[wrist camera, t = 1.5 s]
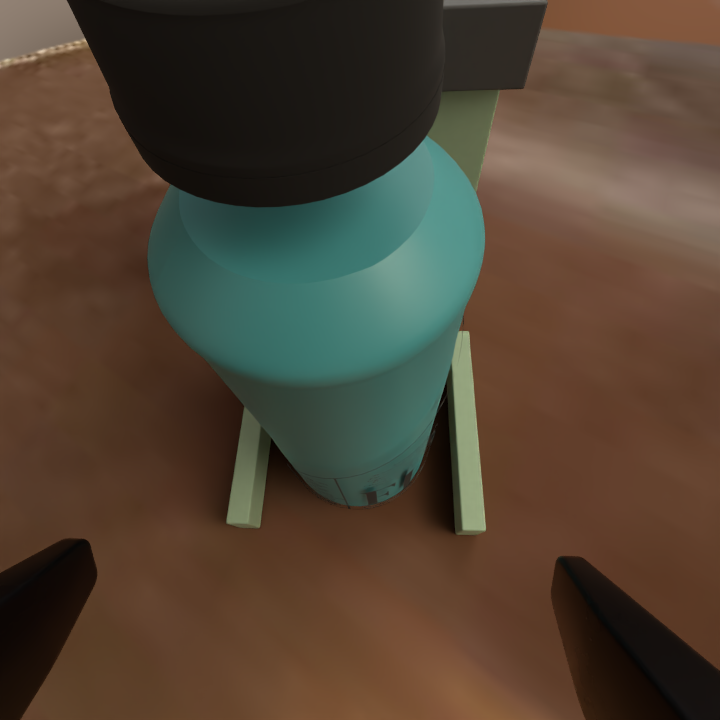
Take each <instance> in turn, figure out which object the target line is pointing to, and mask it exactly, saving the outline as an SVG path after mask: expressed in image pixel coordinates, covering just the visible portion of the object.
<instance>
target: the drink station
mask: <svg viewBox="0 0 720 720" xmlns="http://www.w3.org/2000/svg"><path fill="white" fill-rule="evenodd" d="M546 8H547V0H444V3H443V26H442V27H443V34H444V39H445V69H444V77H443V85H442V94H441V101H440V106H439V111H438V114H437V116H436V119H435V121H434V124H433V126H432V128H431V129H430V131H429V132H428V134H427V136H428V137H429V138H430V139H432V140H433V141H434V142H436V143H437V144H438V145H439V146H440V147H441V148H443V149H444V150H445V151H446V152H447V153H448V154H449V156H450V157H451V158H452V159H453V160H454V161H455V162H456V163H457V164H458V166H459V167H460V168H461V170H462V171H463V172H464V174H465V175H466V176H467V178H468V179H469V181H470V183H471V185H472V187H473V188H474V190H475V192H476V191H477V186H478V182H479V178H480V173H481V169H482V165H483V160H484V156H485V152H486V148H487V143H488V139H489V135H490V130H491V126H492V122H493V118H494V113H495V109H496V105H497V100H498V96H499V92H500V90H504V89H523V88H524V86H525V82H526V79H527V75H528V72H529V68H530V65H531V61H532V58H533V54H534V50H535V47H536V43H537V40H538V36H539V33H540V29H541V26H542V22H543V18H544V15H545V11H546ZM462 332H463V337H462ZM461 344H462V345H461ZM460 350H461V351H460ZM459 355H460V356H459ZM458 360H459V361H458ZM451 366H452V371H451ZM451 366H450V369H449V373H448V376H447V394H448V395H447V397H448V414H449V432H450V449H451V466H452V484H453V501H454V518H455V533H456V534H457V535H477V534H480V533H482V532H484V531H486V525H485V513H484V501H483V490H482V478H481V467H480V455H479V444H478V432H477V420H476V409H475V397H474V386H473V374H472V363H471V351H470V338H469V331H459V332H458V335H457V339H456V343H455V348H454V354H453V358H452V362H451ZM453 377H454V378H453ZM451 380H452V383H451ZM450 386H451V387H450ZM270 444H271V436H270V435H269V434H268V433H267V432H266V431H265V429H264V428H263V427H262V426H261V425H260V424H259V422H258V421H257V420H256V419H255V418H254V417H253V415H252V414H251V413H250V412H249V411H248V409H247V408H246V407H245V406H244V411H243V418H242V424H241V431H240V437H239V443H238V450H237V456H236V462H235V469H234V475H233V481H232V488H231V494H230V500H229V507H228V513H227V519H226V523H227V524H230V525H233V526H236V527H240V528H260V524H261V516H262V508H263V500H264V492H265V484H266V476H267V468H268V460H269V452H270Z"/></svg>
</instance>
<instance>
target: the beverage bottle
mask: <svg viewBox="0 0 720 720" xmlns="http://www.w3.org/2000/svg"><path fill="white" fill-rule="evenodd" d="M67 1H68V3H69V5H70V8H71V9H72V11H73V14H74V16H75V18H76V20H77V22H78V24H79V26H80V28H81V30H82V32H83V34H84V36H85V38H86V41H87V43H88V45H89V47H90V49H91V51H92V53H93V55H94V57H95V59H96V61H97V63H98V65H99V67H100V69H101V71H102V74H103V76H104V78H105V80H106V82H107V84H108V86H109V89H110V95H111V98H112V101H113V104H114V107H115V110H116V112H117V113H118V115H119V118H120V120H121V121H122V123H123V125H124V127H125V129H126V130H127V132H128V134H129V136H130V137H131V139H132V141H133V142H134V144H135V146H136V148H137V149H138V151H139V153H140V154H141V156H142V158H143V159H144V161H145V162H146V163H147V164H148V165H149V167H150V168H151V169H152V170H153V171H154V172H155V173H156V174H158V175H159V176H160V177H161V178H162V179H164V180H165V181H166V182H168V183H170V184H171V185H170V187H169V189H168V191H167V193H166V195H165V197H164V199H163V201H162V203H161V205H160V207H159V210H158V212H157V215H156V217H155V220H154V223H153V225H152V229H151V233H150V238H149V242H148V258H147V260H148V270H149V278H150V282H151V286H152V289H153V293H154V296H155V299H156V301H157V303H158V305H159V307H160V309H161V312H162V314H163V315H164V317H165V318H166V319H167V321H168V322H169V324H170V325H171V327H172V328H173V329H174V331H175V332H176V333H177V334H178V335H179V336H180V337H181V338H182V339H183V340H184V341H185V343H186V344H187V345H188V346H189V347H190V348H191V349H193V350H194V351H195V352H196V353H198V354H199V355H200V356H202V357H203V358H204V359H205V360H206V361H207V362H208V364H209V365H210V366H211V367H212V368H213V370H214V371H215V372H216V373H217V374H218V375H219V377H220V378H221V379H222V380H223V381H224V382H225V384H226V385H227V386H228V387H229V388H230V390H231V391H232V392H233V393H234V394H235V395H236V397H237V398H238V399H239V400H240V401H241V402H242V404H243V405H244V406H245V407H246V408H247V409H248V411H249V412H250V413H251V414H252V415H253V417H254V418H255V419H256V420H257V421H258V422H259V424H260V425H261V426H262V427H263V428H264V429H265V431H266V432H267V433H268V434H269V435H270V436H271V438H272V439H273V440H274V442H275V444H276V445H277V446H278V448H279V449H280V451H281V452H282V453H283V454H284V456H285V457H286V458H287V459H288V461H289V462H290V463H291V464H292V466H293V467H294V468H295V470H296V471H297V473H299V474H300V475H301V477H302V478H303V479H304V481H305V482H306V483H307V484H308V485H309V486H310V487H311V489H313V490H315V491H316V492H314V493H315V494H316V493H318V494H319V496H320V495H321V496H323V497H324V498H326V499H328V500H331V501H332V502H333V503H334V502H336V503H339V504H343V505H347V506H348V509H350V507H349V506H367V505H372V504H377V503H380V502H383V501H385V500H387V499H389V498H391V497H393V496H395V495H396V494H397V493H400V491H401V490H404V489H405V488H406V487H407V486H408V485H409V484H410V481H411V480H412V478H413V477H414V476H415V474H416V472H417V470H418V469H419V466H420V464H421V462H422V459H423V455H424V452H425V451H426V450H425V449H426V448H427V447H426V445H428V444H427V442H428V439H429V436H430V432H431V429H432V426H433V422H434V419H435V416H436V415H437V414H436V413H438V412H437V409H438V406H439V403H440V399H441V396H442V393H443V390H444V386H445V383H446V380H447V376H448V373H449V369H450V366H451V362H452V358H453V354H454V348H455V343H456V339H457V335H458V332H459V328H460V325H461V321H462V317H463V314H464V310H465V307H466V304H467V302H468V300H469V298H470V296H471V294H472V292H473V290H474V288H475V285H476V282H477V279H478V276H479V273H480V269H481V266H482V261H483V254H484V248H485V228H484V221H483V216H482V210H481V206H480V203H479V200H478V198H477V195H476V192H475V190H474V188H473V187H472V185H471V183H470V181H469V179H468V178H467V176H466V175H465V174H464V172H463V171H462V170H461V168H460V167H459V166H458V164H457V163H456V162H455V161H454V160H453V159H452V158H451V157H450V156H449V154H448V153H447V152H446V151H445V150H444V149H443V148H441V147H440V146H439V145H438V144H437V143H436V142H434V141H433V140H432V139H430V138H429V137H428V136H427V134H428V132H429V131H430V129H431V128H432V126H433V124H434V121H435V119H436V116H437V114H438V111H439V106H440V101H441V94H442V85H443V77H444V69H445V39H444V34H443V27H442V26H443V3H444V0H67ZM463 324H464V321H463ZM462 337H463V332H462ZM461 345H462V344H461ZM460 351H461V350H460ZM459 356H460V355H459ZM458 361H459V360H458ZM451 371H452V366H451ZM453 378H454V377H453ZM451 383H452V380H451ZM450 387H451V386H450ZM447 395H448V394H447ZM445 397H447V396H445ZM444 399H445V398H444ZM443 401H445V400H443ZM442 404H443V403H442ZM442 404H441V405H440V406H442ZM439 408H440V407H439ZM438 411H439V410H438ZM436 426H437V425H436ZM433 431H434V430H433ZM435 431H436V430H435ZM435 431H434V433H433V434H431V439H430V440H431V442H430V444H432V441H433V438H434V435H435ZM429 450H430V449H429ZM428 452H429V451H428ZM427 455H428V454H427ZM424 463H425V462H424ZM287 465H288V464H287ZM288 467H289V466H288ZM422 467H423V466H422ZM422 467H421V468H422ZM289 468H290V467H289ZM294 468H293V469H294ZM290 469H291V468H290ZM422 469H423V468H422ZM422 469H420V470H421V471H422ZM421 471H419V472H421ZM294 474H295V473H294ZM418 474H419V473H418ZM418 474H417V475H418ZM295 475H296V474H295ZM296 476H297V475H296ZM417 478H418V477H417ZM414 479H415V478H414ZM300 481H301V480H300ZM301 482H302V481H301ZM414 482H415V481H414ZM305 485H306V484H305ZM309 486H308V487H309ZM305 487H306V486H305ZM306 488H307V487H306ZM307 489H308V488H307ZM313 490H311V492H312V491H313ZM314 493H312V494H314ZM400 494H401V493H400ZM400 494H399V495H400ZM402 494H403V493H402ZM317 496H318V495H317ZM321 496H320V497H321ZM397 496H398V495H397ZM323 497H322V498H323ZM398 497H399V496H398ZM322 498H321V499H322ZM394 498H395V497H394ZM319 499H320V498H319ZM326 499H325V500H326ZM392 499H393V498H392ZM395 499H396V498H395ZM325 500H324V501H325ZM328 500H327V501H328ZM331 501H330V502H329V501H328V502H329V503H332V502H331ZM388 501H389V500H388ZM388 501H387V502H388ZM383 503H385V502H383ZM388 503H389V502H388ZM334 504H335V503H334ZM380 504H381V503H380ZM380 504H379V505H380ZM331 505H332V504H331ZM383 505H384V504H383ZM334 506H335V505H334ZM375 506H376V505H375ZM380 506H381V505H380ZM368 507H370V506H368ZM377 507H378V506H377ZM341 508H343V507H341ZM364 508H366V507H364ZM373 508H374V507H373ZM366 509H369V508H366Z"/></svg>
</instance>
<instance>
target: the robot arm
mask: <svg viewBox="0 0 720 720" xmlns="http://www.w3.org/2000/svg"><path fill="white" fill-rule="evenodd" d="M96 579H97V568H96V564H95V561H94V557H93V553H92V550H91V546H90V543H89V542H88V541H87V540H85V539H77V538H67V539H63V540H61V541H59V542H57V543H55V544H53V545H51V546H49V547H48V548H46V549H44V550H42V551H40V552H38V553H36V554H35V555H33V556H31V557H29V558H27V559H25V560H23V561H22V562H20V563H18V564H16V565H14V566H12V567H10V568H9V569H7V570H5V571H3V572H1V573H0V720H20V719H21V718H22V716H23V714H24V713H25V711H26V709H27V708H28V706H29V705H30V703H31V701H32V700H33V698H34V697H35V695H36V693H37V692H38V690H39V688H40V687H41V685H42V684H43V682H44V680H45V679H46V677H47V675H48V674H49V672H50V670H51V668H52V667H53V665H54V663H55V661H56V659H57V657H58V656H59V654H60V652H61V650H62V648H63V646H64V644H65V642H66V640H67V638H68V636H69V634H70V632H71V630H72V628H73V626H74V624H75V623H76V621H77V619H78V617H79V615H80V613H81V611H82V609H83V607H84V605H85V603H86V601H87V599H88V597H89V595H90V593H91V591H92V589H93V587H94V585H95V582H96ZM551 599H552V605H553V609H554V612H555V616H556V620H557V623H558V627H559V631H560V635H561V638H562V642H563V646H564V650H565V653H566V657H567V661H568V665H569V668H570V672H571V676H572V680H573V683H574V687H575V690H576V693H577V697H578V700H579V703H580V706H581V708H582V711H583V714H584V717H585V719H586V720H720V671H719V670H718V669H717V668H716V667H714V666H713V665H712V664H711V663H710V662H708V661H707V660H706V659H705V658H703V657H702V656H701V655H700V654H699V653H697V652H696V651H695V650H694V649H693V648H691V647H690V646H689V645H688V644H687V643H685V642H684V641H683V640H682V639H681V638H679V637H678V636H677V635H676V634H674V633H673V632H672V631H671V630H670V629H668V628H667V627H666V626H665V625H664V624H662V623H661V622H660V621H659V620H658V619H656V618H655V617H654V616H653V615H652V614H650V613H649V612H648V611H647V610H645V609H644V608H643V607H642V606H641V605H639V604H638V603H637V602H636V601H635V600H633V599H632V598H631V597H630V596H629V595H627V594H626V593H625V592H624V591H623V590H621V589H620V588H619V587H618V586H616V585H615V584H614V583H613V582H612V581H610V580H609V579H608V578H607V577H606V576H604V575H603V574H602V573H601V572H600V571H598V570H597V569H596V568H595V567H594V566H592V565H591V564H590V563H589V562H587V561H586V560H585V559H583V558H582V557H578V556H560V557H558V558H557V560H556V564H555V570H554V576H553V582H552V588H551Z"/></svg>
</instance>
